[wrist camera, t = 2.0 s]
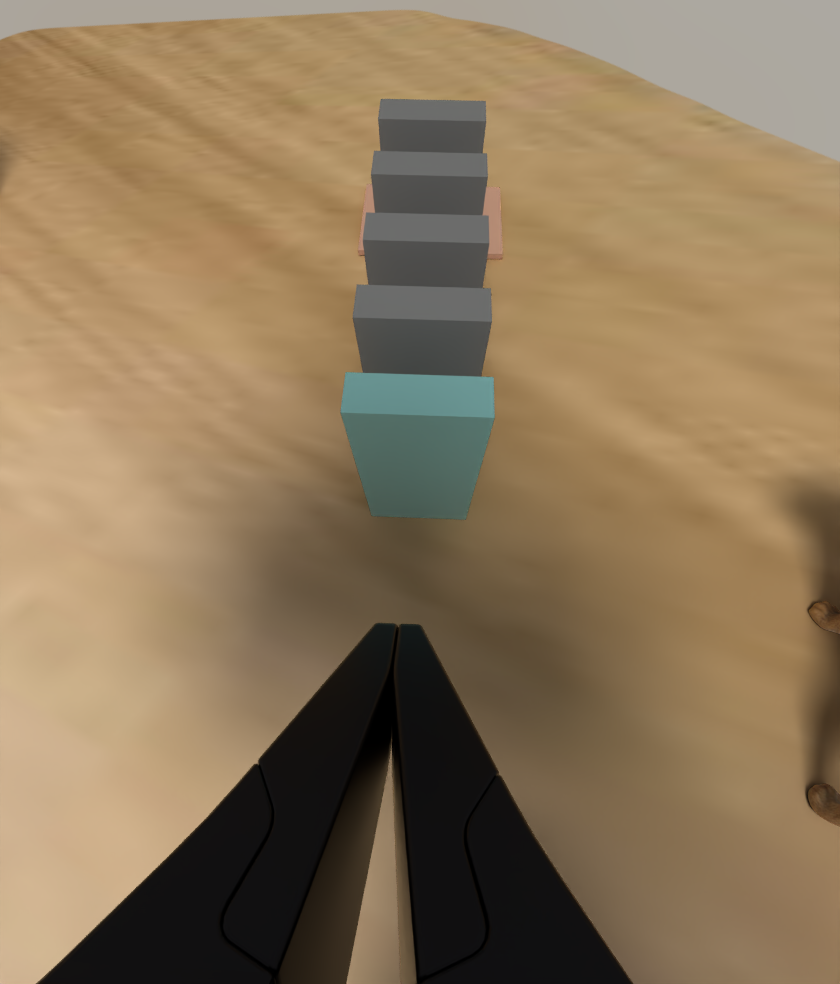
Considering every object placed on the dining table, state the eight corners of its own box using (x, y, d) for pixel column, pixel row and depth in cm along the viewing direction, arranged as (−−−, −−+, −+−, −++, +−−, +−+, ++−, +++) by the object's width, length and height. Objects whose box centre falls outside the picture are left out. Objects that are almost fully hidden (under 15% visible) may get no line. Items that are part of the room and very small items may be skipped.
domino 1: (465, 293, 30) (485, 121, 21) (391, 291, 30) (378, 118, 21) (465, 276, 30) (485, 101, 21) (392, 274, 30) (380, 98, 21)
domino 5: (465, 519, 24) (494, 418, 14) (371, 516, 24) (340, 412, 14) (465, 491, 24) (493, 377, 15) (374, 488, 24) (345, 372, 15)
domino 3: (465, 393, 27) (489, 243, 17) (382, 390, 27) (362, 239, 18) (465, 371, 27) (488, 215, 18) (384, 369, 27) (366, 212, 18)
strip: (501, 259, 31) (502, 254, 31) (358, 255, 31) (358, 250, 31) (499, 192, 34) (499, 187, 33) (367, 189, 34) (366, 184, 33)
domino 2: (465, 340, 28) (487, 176, 19) (387, 338, 28) (371, 174, 19) (465, 321, 29) (487, 153, 20) (388, 319, 29) (373, 150, 20)
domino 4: (465, 452, 25) (491, 321, 16) (377, 449, 25) (352, 317, 16) (465, 428, 26) (490, 288, 17) (379, 425, 26) (356, 284, 17)
